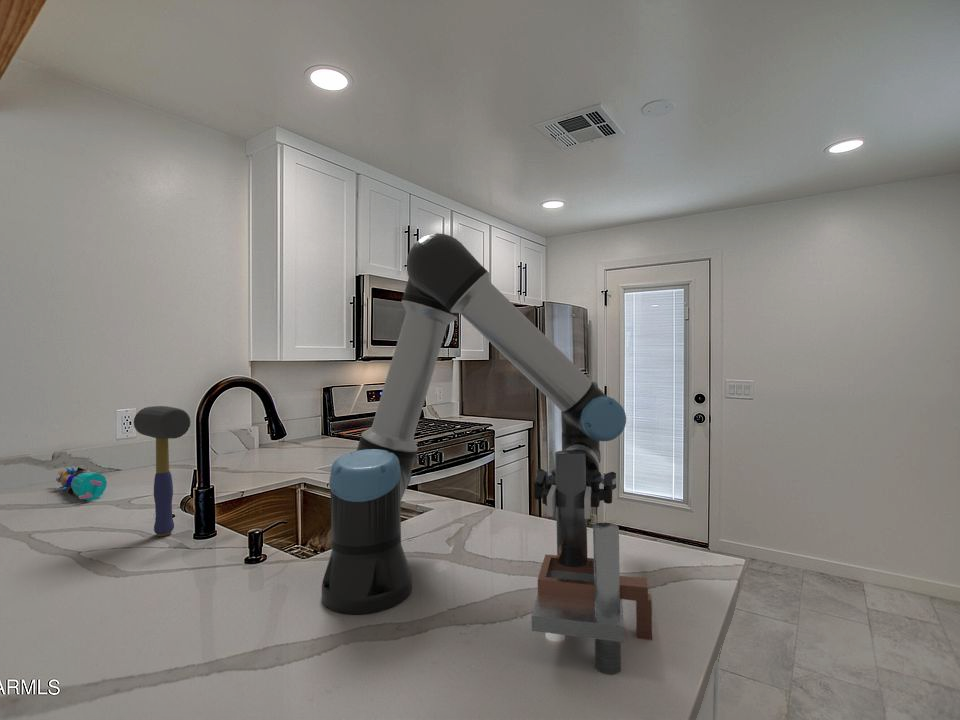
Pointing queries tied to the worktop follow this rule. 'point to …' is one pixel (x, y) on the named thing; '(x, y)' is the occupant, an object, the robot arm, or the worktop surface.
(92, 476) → the toy
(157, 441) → the rubber mallet
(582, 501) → the pin
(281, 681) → the worktop surface
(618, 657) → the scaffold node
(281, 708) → the worktop surface
